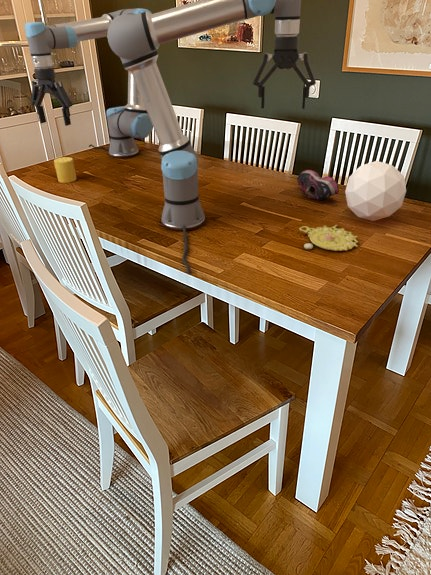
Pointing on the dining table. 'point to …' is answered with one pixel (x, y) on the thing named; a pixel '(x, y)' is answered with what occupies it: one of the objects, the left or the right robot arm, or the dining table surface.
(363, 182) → the sphere
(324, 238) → the decorative object
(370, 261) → the dining table surface
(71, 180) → the can
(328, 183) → the athletic shoe
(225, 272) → the dining table surface
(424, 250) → the dining table surface
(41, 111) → the left robot arm
